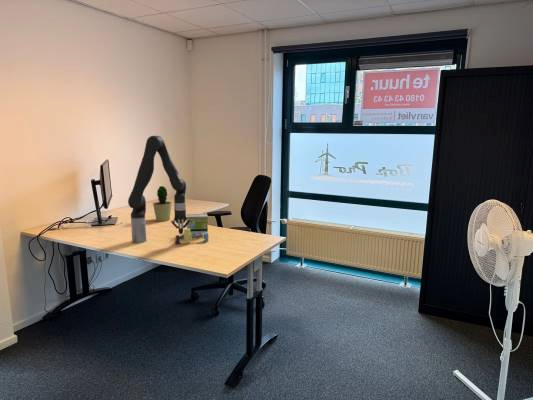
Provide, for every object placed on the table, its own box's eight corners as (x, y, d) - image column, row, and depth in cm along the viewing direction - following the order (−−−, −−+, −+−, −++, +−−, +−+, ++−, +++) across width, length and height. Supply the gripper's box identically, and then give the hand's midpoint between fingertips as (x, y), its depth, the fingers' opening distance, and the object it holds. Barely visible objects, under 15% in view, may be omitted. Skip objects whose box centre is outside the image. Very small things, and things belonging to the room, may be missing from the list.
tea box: (187, 236, 272) (186, 216, 269) (187, 233, 281) (186, 213, 279) (208, 235, 274) (207, 216, 272) (207, 232, 284) (207, 213, 281)
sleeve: (184, 241, 254) (183, 230, 252) (183, 239, 258) (183, 228, 257) (191, 240, 255) (191, 229, 254) (190, 239, 260) (190, 227, 258)
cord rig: (176, 244, 252) (175, 236, 251) (175, 242, 258) (174, 233, 256) (208, 242, 259) (208, 233, 258) (207, 239, 264) (207, 231, 263)
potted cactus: (151, 219, 323) (149, 185, 317) (168, 217, 332) (166, 183, 327) (157, 222, 311) (156, 187, 305) (175, 220, 320) (173, 185, 315)
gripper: (170, 210, 246) (171, 236, 249) (190, 209, 250) (191, 234, 253) (169, 208, 253) (170, 233, 256) (189, 207, 257) (190, 231, 260)
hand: (181, 233), depth 255 cm, fingers closed
